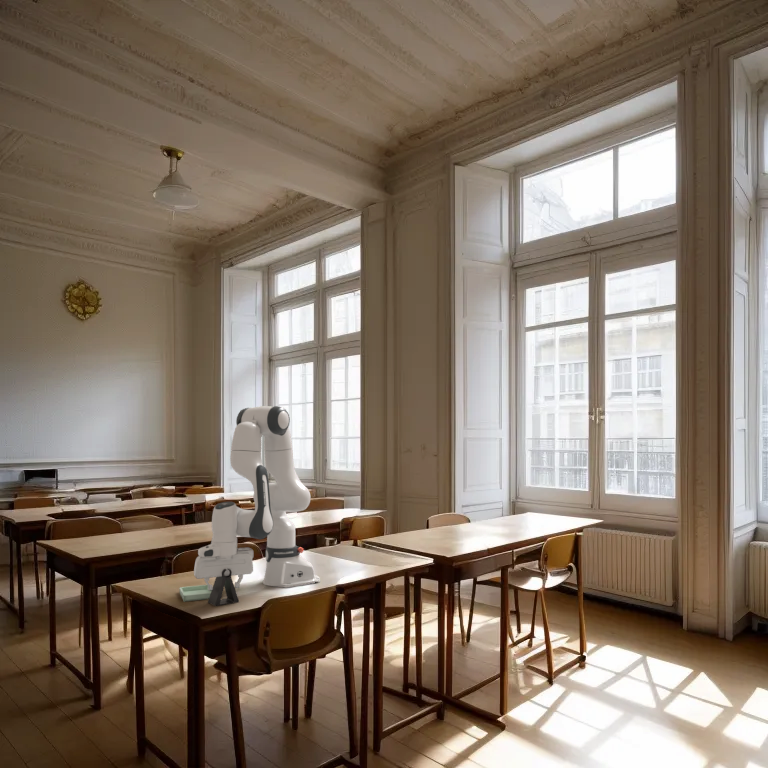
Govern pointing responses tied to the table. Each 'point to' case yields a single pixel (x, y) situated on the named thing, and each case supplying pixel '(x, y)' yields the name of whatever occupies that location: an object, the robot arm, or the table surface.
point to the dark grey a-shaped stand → (218, 590)
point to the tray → (194, 593)
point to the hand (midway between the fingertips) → (223, 588)
